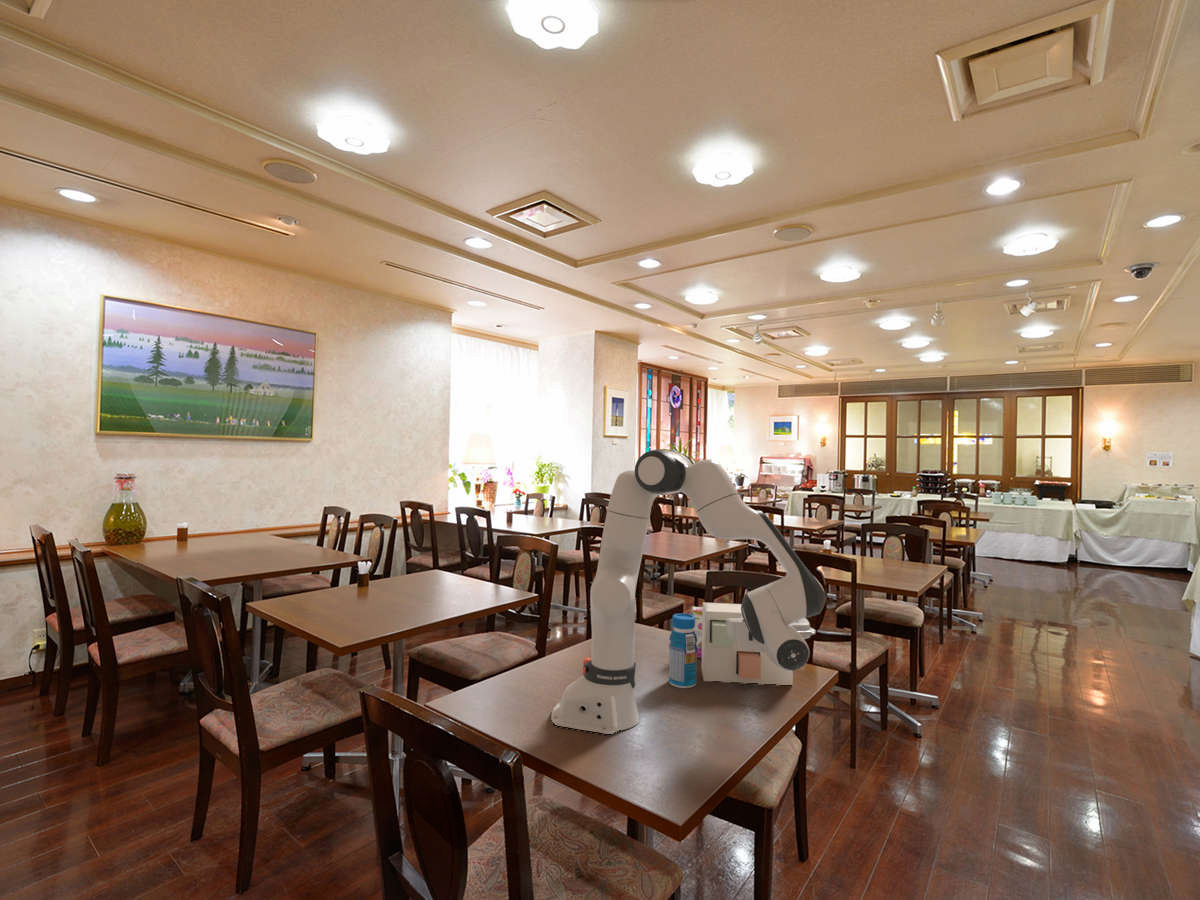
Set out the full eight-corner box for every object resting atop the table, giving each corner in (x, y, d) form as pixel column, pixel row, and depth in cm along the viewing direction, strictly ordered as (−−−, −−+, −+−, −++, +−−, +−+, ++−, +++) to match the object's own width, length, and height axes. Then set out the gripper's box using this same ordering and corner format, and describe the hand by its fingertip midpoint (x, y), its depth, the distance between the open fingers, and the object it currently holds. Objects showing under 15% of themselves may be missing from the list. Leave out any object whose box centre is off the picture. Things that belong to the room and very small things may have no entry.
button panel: (703, 680, 176) (705, 611, 176) (701, 668, 186) (702, 602, 186) (792, 686, 173) (793, 615, 173) (785, 673, 183) (786, 606, 184)
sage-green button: (712, 645, 172) (712, 625, 172) (710, 639, 178) (711, 619, 178) (733, 646, 171) (733, 626, 171) (730, 640, 177) (731, 620, 177)
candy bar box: (690, 659, 194) (691, 609, 195) (689, 654, 199) (690, 606, 200) (724, 661, 193) (725, 611, 193) (722, 655, 198) (723, 607, 198)
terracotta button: (739, 677, 171) (740, 657, 171) (736, 670, 177) (737, 650, 177) (760, 679, 170) (760, 658, 170) (757, 671, 176) (757, 651, 176)
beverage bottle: (666, 687, 170) (667, 618, 170) (670, 676, 179) (671, 611, 179) (695, 690, 168) (697, 621, 168) (697, 679, 176) (699, 613, 177)
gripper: (818, 620, 139) (800, 607, 153) (731, 621, 140) (721, 608, 154) (819, 647, 139) (801, 631, 152) (732, 648, 139) (722, 632, 153)
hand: (760, 619), depth 153 cm, fingers open, 8 cm apart
